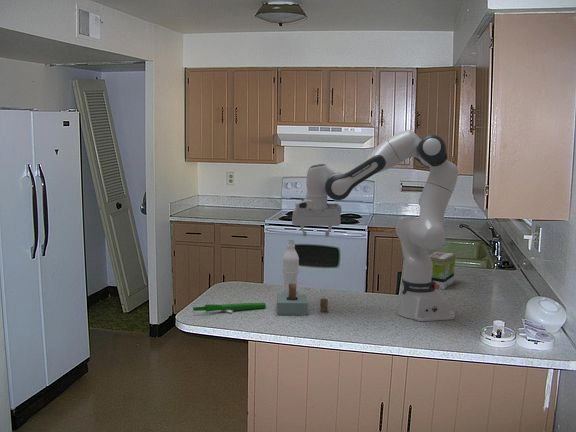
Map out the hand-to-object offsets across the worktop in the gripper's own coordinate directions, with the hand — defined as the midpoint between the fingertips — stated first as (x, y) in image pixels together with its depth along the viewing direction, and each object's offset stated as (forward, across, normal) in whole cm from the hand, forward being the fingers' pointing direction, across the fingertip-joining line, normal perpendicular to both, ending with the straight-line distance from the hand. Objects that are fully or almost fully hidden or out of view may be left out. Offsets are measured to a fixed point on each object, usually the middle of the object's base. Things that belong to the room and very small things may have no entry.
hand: (315, 236), depth 253 cm
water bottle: (+29, +10, -10) cm, 33 cm away
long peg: (+29, +10, +10) cm, 32 cm away
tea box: (+29, -62, -30) cm, 75 cm away
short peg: (+29, -3, +11) cm, 31 cm away
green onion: (+29, +35, +12) cm, 47 cm away
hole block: (+29, +10, +10) cm, 32 cm away
